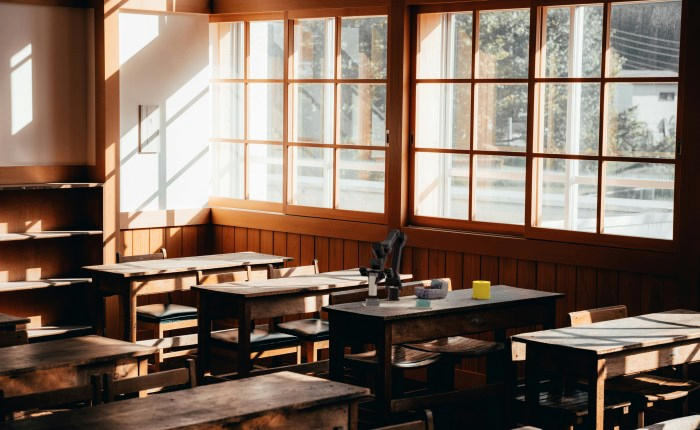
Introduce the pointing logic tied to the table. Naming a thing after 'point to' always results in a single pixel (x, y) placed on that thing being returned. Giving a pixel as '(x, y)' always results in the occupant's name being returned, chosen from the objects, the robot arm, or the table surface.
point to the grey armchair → (432, 290)
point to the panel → (419, 304)
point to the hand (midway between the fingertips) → (371, 284)
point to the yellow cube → (481, 289)
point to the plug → (372, 284)
